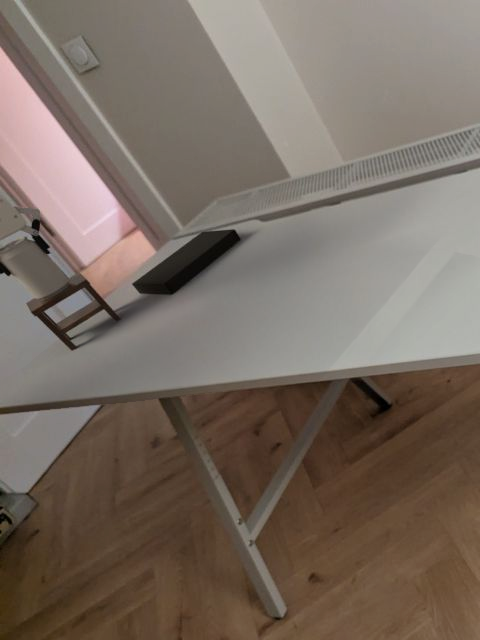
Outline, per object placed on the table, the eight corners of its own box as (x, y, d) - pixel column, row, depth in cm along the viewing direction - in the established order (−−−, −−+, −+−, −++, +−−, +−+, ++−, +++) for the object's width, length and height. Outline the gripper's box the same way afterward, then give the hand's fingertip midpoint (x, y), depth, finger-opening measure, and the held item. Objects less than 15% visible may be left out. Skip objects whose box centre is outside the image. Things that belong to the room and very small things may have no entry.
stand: (70, 351, 117) (30, 312, 111) (64, 340, 123) (25, 303, 117) (122, 318, 122) (86, 279, 116) (113, 310, 128) (79, 272, 122)
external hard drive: (139, 293, 131) (131, 283, 129) (208, 241, 145) (201, 231, 143) (172, 294, 123) (163, 283, 121) (241, 239, 137) (234, 229, 135)
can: (55, 298, 112) (8, 249, 105) (30, 304, 115) (-17, 257, 107) (79, 278, 118) (36, 230, 111) (56, 284, 120) (12, 238, 113)
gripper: (-98, 210, 95) (-14, 291, 106) (3, 164, 102) (72, 243, 113) (-96, 207, 100) (-16, 284, 111) (0, 162, 108) (67, 239, 118)
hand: (28, 263), depth 112 cm, fingers closed on can, 7 cm apart
